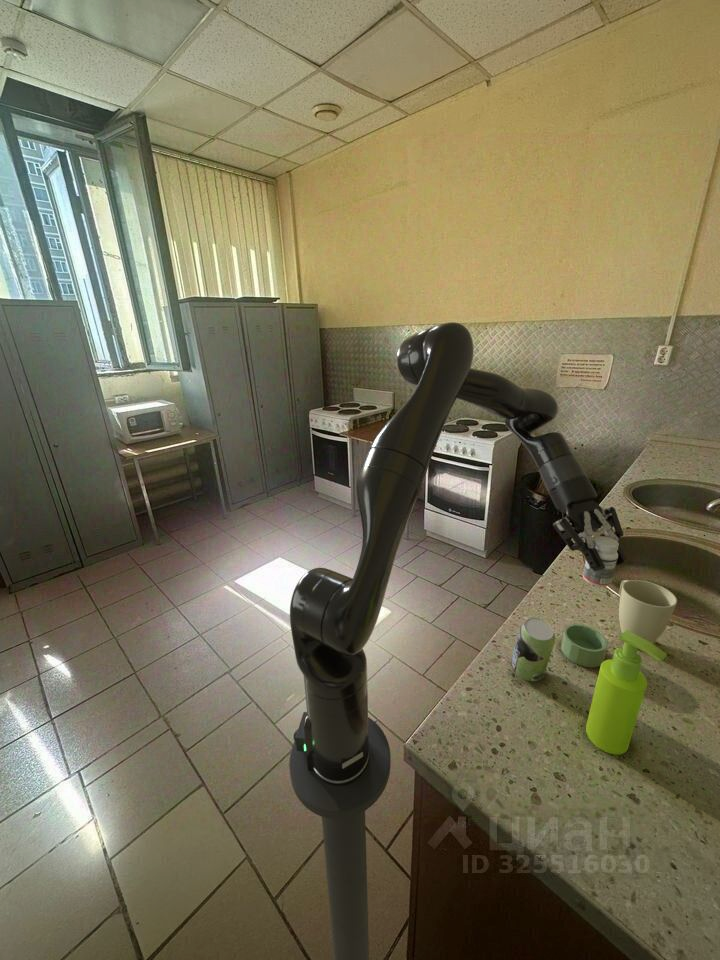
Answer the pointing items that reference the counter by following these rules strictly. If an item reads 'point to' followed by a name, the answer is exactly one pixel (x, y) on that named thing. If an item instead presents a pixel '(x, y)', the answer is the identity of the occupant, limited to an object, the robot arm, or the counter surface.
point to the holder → (584, 645)
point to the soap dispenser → (619, 695)
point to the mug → (645, 608)
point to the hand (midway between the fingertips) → (610, 566)
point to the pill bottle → (609, 557)
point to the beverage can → (533, 649)
